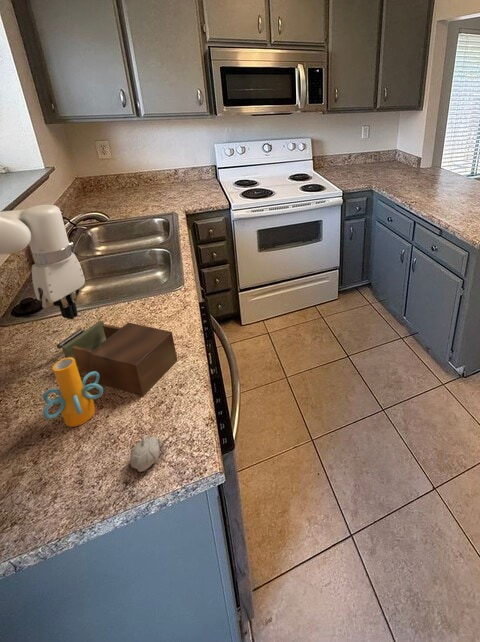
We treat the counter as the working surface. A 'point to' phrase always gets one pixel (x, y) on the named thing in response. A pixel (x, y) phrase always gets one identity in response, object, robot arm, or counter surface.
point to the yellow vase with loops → (72, 394)
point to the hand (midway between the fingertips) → (70, 316)
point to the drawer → (86, 343)
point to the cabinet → (134, 358)
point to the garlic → (144, 453)
